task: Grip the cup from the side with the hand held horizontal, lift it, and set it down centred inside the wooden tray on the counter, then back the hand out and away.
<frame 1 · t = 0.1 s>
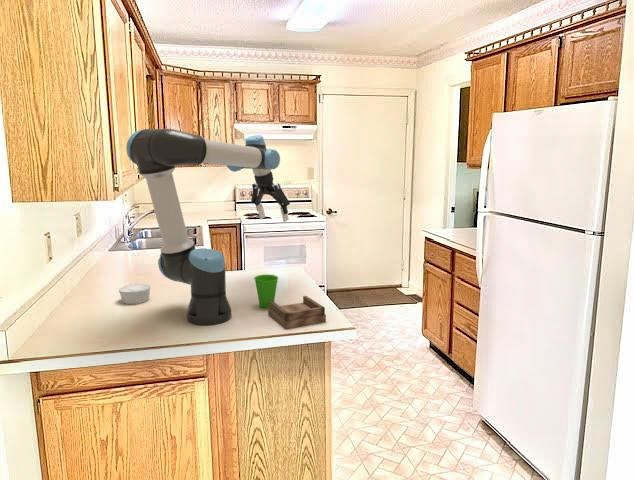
hand: (274, 219, 203), 28 cm above the worktop, tool tilted 20°, fingers open, 13 cm apart
cup: (266, 306, 174), on the worktop
wooden tray: (296, 318, 162), on the worktop
ramekin: (135, 301, 180), on the worktop
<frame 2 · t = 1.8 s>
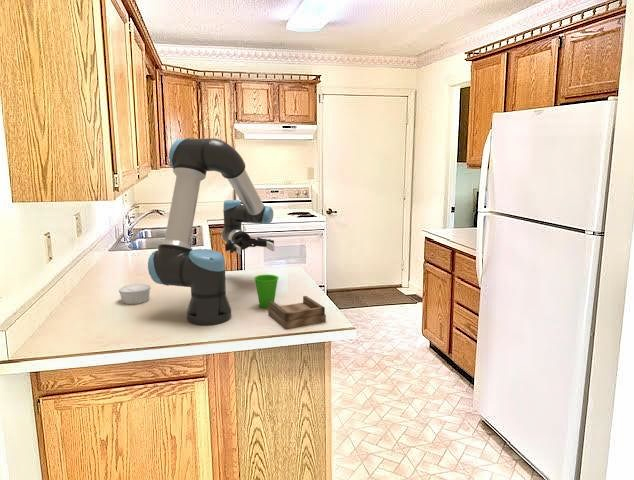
hand: (257, 249, 179), 20 cm above the worktop, tool horizontal, fingers open, 13 cm apart
nothing on the worktop moved.
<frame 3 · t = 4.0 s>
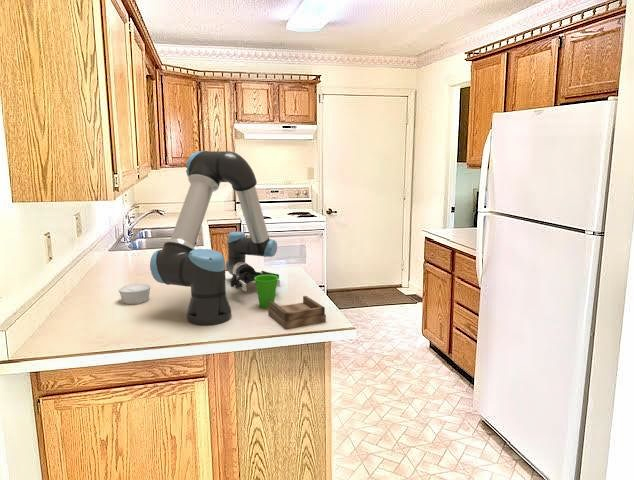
hand: (262, 285, 179), 6 cm above the worktop, tool horizontal, fingers open, 13 cm apart
nothing on the worktop moved.
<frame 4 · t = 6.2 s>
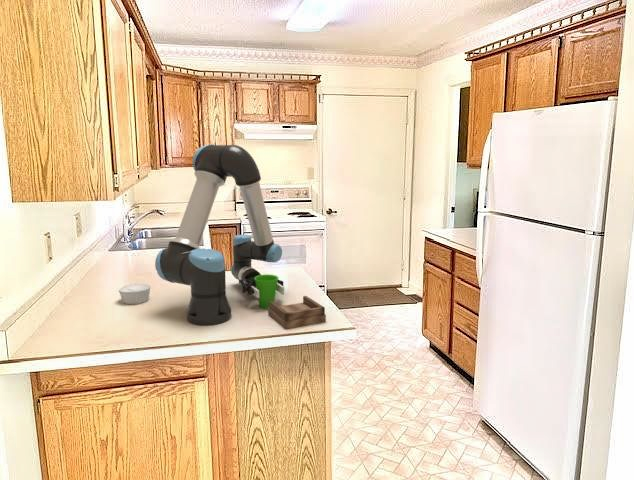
hand: (271, 292, 169), 7 cm above the worktop, tool horizontal, fingers closed on cup, 9 cm apart
cup: (266, 306, 174), on the worktop, touching gripper
everything else where it was.
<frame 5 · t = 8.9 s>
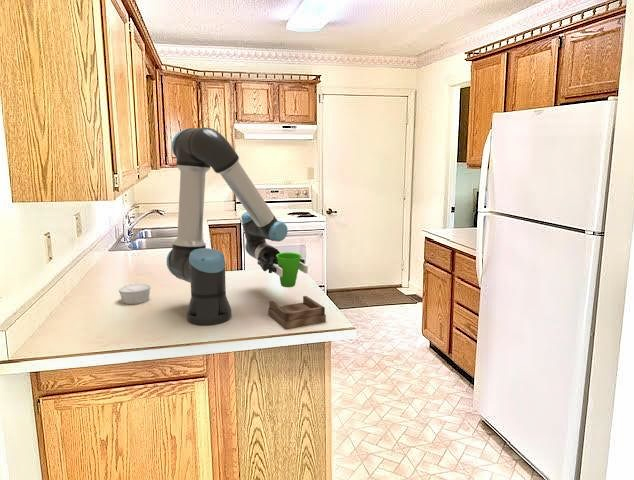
hand: (294, 271, 162), 16 cm above the worktop, tool horizontal, fingers closed on cup, 9 cm apart
cup: (287, 285, 167), point 10 cm above the worktop, touching gripper
everything else where it was.
when the fingers open (11 cm above the worktop, at t = 11.6 s): cup drops 2 cm, resting on wooden tray.
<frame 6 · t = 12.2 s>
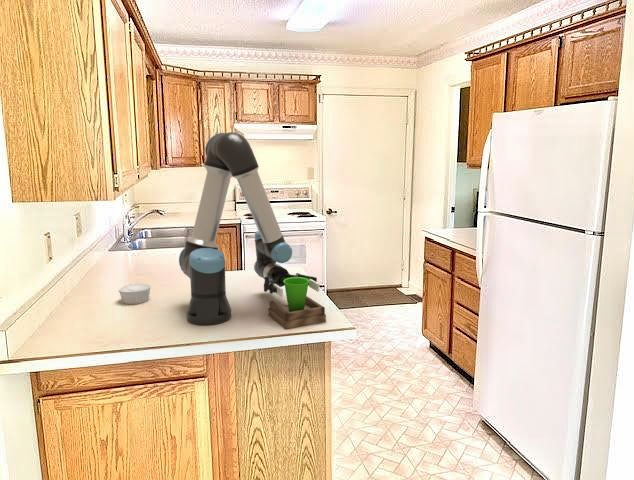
hand: (300, 290, 157), 11 cm above the worktop, tool horizontal, fingers open, 13 cm apart
cup: (296, 311, 162), point 2 cm above the worktop, touching wooden tray
everything else where it was.
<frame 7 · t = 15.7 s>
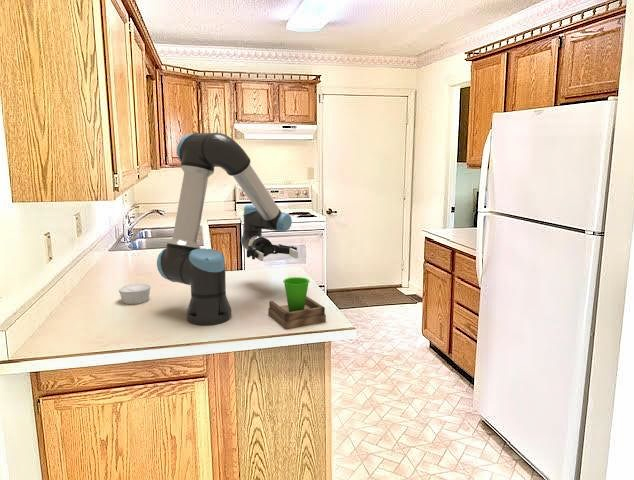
hand: (280, 256, 170), 19 cm above the worktop, tool horizontal, fingers open, 13 cm apart
nothing on the worktop moved.
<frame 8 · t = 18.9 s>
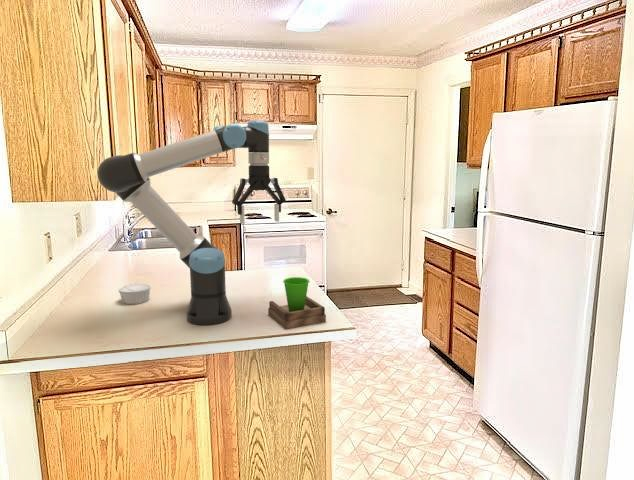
hand: (259, 222, 174), 31 cm above the worktop, tool pointing down, fingers open, 13 cm apart
nothing on the worktop moved.
at the end: cup 0.1 cm off-centre on the wooden tray, point 2.3 cm above the wooden tray's base; cup tilted 0°; the gripper is holding nothing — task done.
